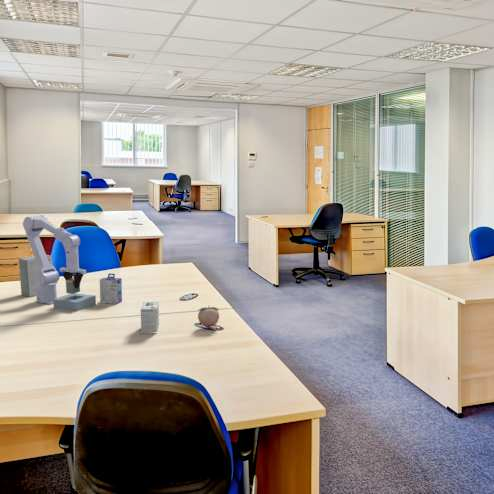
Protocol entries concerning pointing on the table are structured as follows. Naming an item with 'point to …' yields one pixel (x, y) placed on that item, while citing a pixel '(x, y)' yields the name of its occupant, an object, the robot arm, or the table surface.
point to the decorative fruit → (208, 316)
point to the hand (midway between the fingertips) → (73, 287)
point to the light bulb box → (149, 317)
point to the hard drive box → (29, 275)
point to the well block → (74, 301)
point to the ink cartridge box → (111, 289)
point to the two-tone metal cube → (71, 286)
